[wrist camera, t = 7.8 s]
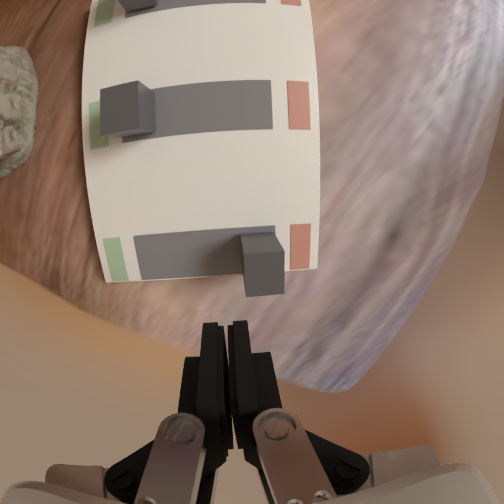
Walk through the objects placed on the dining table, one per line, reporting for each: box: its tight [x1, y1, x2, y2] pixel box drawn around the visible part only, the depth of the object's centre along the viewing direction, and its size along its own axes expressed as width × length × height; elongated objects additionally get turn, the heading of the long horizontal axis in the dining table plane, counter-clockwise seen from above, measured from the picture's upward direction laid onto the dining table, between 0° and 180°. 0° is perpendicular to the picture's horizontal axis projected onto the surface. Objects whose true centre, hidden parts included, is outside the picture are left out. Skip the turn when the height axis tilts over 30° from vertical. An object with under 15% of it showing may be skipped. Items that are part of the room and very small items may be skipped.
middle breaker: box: [100, 80, 156, 137], centre depth 15 cm, size 2×3×4 cm
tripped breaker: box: [240, 232, 285, 297], centre depth 19 cm, size 2×3×4 cm
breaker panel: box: [82, 0, 320, 283], centre depth 18 cm, size 18×26×2 cm
